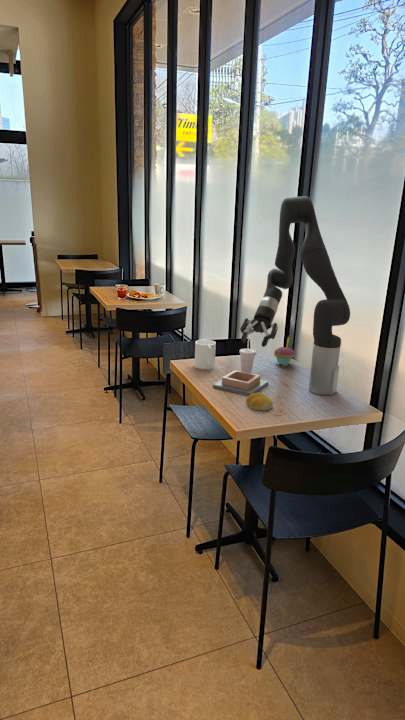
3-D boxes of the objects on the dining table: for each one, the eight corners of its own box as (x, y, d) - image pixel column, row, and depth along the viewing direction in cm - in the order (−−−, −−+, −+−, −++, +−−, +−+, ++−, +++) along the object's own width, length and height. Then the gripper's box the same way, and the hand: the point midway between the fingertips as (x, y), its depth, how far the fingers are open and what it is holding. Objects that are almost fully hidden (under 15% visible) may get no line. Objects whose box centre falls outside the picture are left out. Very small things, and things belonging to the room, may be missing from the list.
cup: (199, 372, 188) (200, 348, 185) (192, 363, 199) (193, 339, 196) (220, 371, 191) (221, 347, 188) (211, 362, 202) (212, 339, 199)
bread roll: (254, 413, 154) (255, 401, 152) (242, 402, 162) (243, 391, 160) (277, 410, 156) (278, 398, 155) (264, 400, 164) (265, 389, 163)
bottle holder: (268, 384, 179) (268, 374, 178) (251, 396, 166) (251, 386, 165) (231, 376, 186) (232, 367, 185) (212, 387, 173) (213, 377, 172)
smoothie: (254, 372, 191) (256, 338, 187) (254, 377, 185) (257, 342, 181) (238, 371, 192) (240, 337, 188) (237, 376, 186) (240, 341, 182)
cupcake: (281, 359, 209) (284, 332, 206) (297, 364, 204) (300, 337, 200) (269, 363, 204) (271, 335, 200) (285, 368, 198) (287, 340, 194)
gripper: (248, 302, 195) (233, 335, 189) (281, 307, 188) (267, 341, 182) (252, 313, 201) (238, 345, 195) (285, 318, 194) (271, 352, 188)
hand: (252, 343), depth 189 cm, fingers open, 8 cm apart
